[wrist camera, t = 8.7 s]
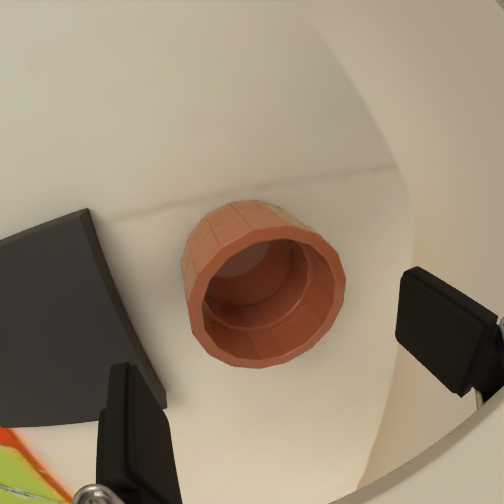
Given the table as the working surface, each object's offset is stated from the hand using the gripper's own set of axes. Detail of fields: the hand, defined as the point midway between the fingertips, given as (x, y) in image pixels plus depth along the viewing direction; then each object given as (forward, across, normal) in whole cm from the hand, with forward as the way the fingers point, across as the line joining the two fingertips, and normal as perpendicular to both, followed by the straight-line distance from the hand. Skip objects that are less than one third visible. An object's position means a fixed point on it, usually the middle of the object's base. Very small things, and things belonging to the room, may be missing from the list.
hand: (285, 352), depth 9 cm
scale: (+7, +13, +1) cm, 15 cm away
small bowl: (+7, 0, 0) cm, 7 cm away
